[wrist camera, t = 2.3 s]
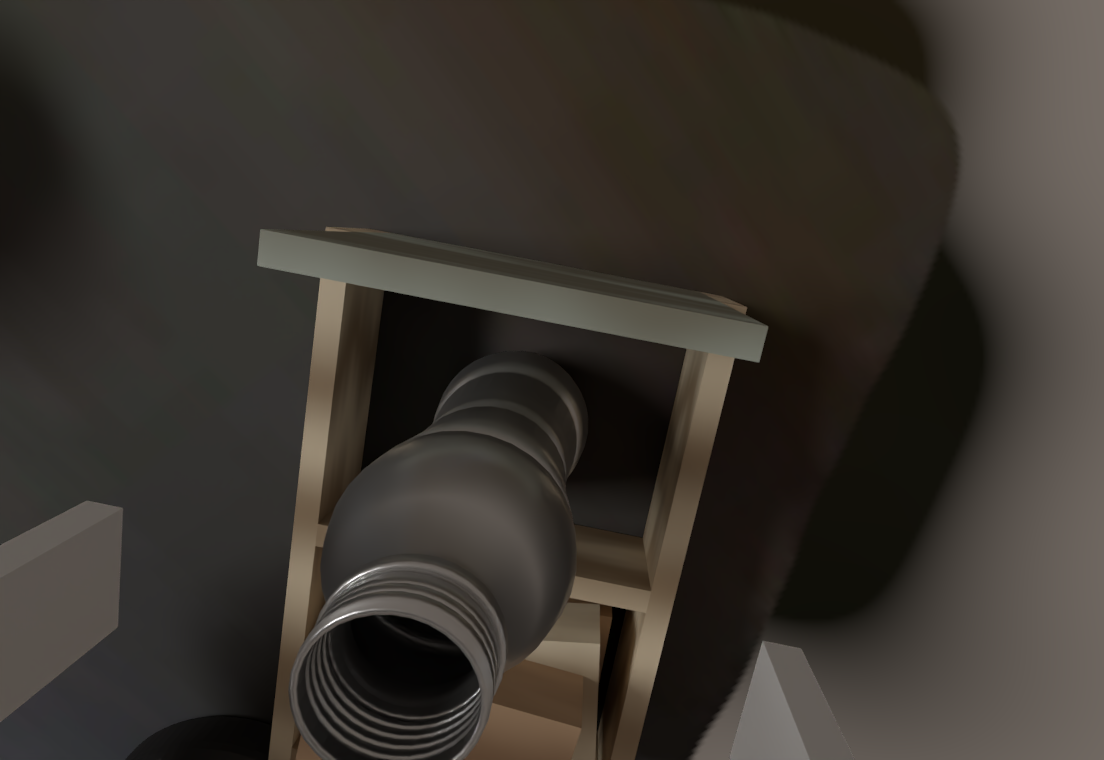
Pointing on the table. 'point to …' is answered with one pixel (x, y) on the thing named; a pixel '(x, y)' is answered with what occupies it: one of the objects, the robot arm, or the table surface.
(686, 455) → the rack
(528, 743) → the offcut stack
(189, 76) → the table surface
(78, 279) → the table surface
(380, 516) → the plastic bottle
